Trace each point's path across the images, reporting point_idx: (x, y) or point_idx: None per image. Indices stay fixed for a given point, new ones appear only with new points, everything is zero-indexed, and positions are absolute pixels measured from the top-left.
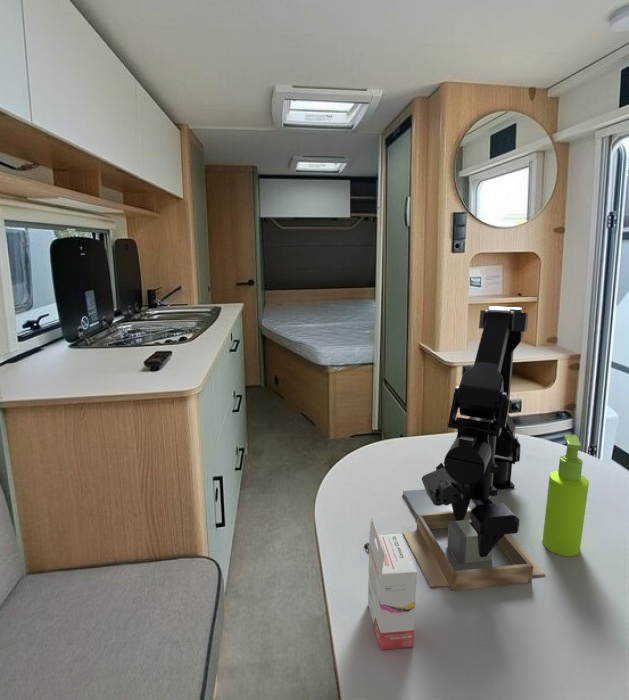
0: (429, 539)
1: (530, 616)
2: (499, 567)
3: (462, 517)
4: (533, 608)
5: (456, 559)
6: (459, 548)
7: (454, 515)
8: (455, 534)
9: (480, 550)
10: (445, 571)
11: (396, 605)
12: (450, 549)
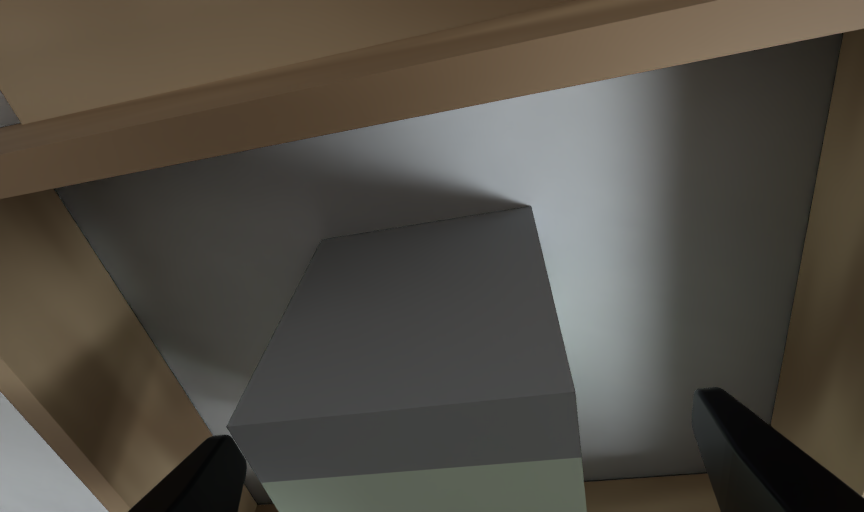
0: (477, 41)
1: (11, 452)
2: (119, 503)
3: (717, 488)
4: (71, 474)
5: (350, 241)
6: (279, 328)
7: (764, 445)
8: (350, 382)
9: (140, 501)
10: (48, 126)
11: None
12: (468, 224)
